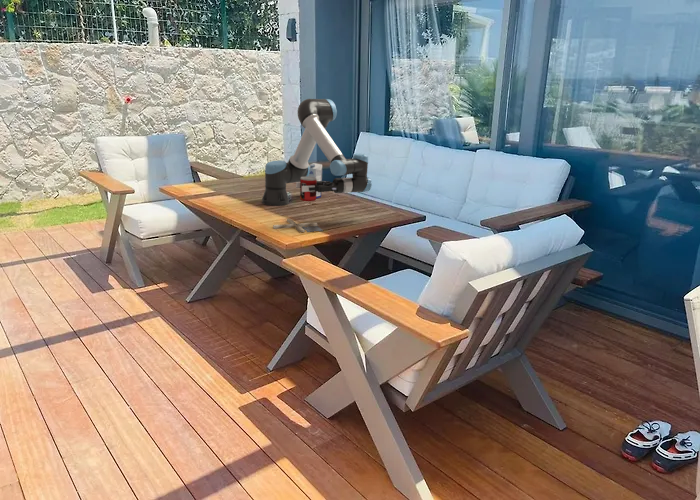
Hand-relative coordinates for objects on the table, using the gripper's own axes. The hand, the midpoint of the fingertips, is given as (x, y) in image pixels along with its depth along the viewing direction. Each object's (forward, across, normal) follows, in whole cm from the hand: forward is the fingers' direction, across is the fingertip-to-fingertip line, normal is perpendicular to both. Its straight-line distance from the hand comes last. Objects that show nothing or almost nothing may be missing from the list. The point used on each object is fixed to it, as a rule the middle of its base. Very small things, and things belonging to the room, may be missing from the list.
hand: (299, 187), depth 265 cm
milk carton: (-28, +54, -18) cm, 63 cm away
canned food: (-5, 0, -7) cm, 8 cm away
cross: (+3, -6, -18) cm, 19 cm away
